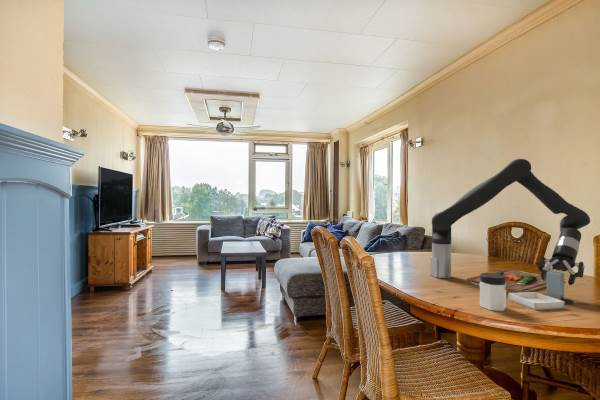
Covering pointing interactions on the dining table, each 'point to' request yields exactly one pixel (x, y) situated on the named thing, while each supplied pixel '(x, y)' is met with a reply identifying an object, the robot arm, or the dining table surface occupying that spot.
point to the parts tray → (536, 300)
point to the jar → (493, 291)
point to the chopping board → (517, 281)
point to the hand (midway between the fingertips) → (556, 281)
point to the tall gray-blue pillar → (555, 285)
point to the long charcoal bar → (566, 300)
